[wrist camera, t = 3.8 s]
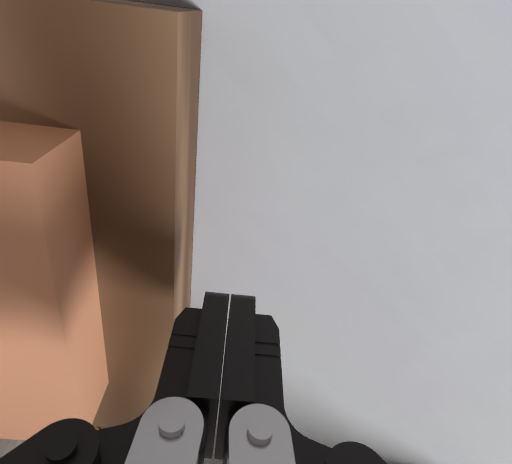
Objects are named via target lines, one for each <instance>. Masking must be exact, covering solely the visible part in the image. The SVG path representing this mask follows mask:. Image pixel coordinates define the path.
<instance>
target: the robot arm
mask: <svg viewBox="0 0 512 464" xmlns="http://www.w3.org/2000/svg"><path fill="white" fill-rule="evenodd" d="M228 303H229V294H224V293H214V292H205V297H204V302H203V307H202V309H198V308H187V307H185V308H184V310H183V311H182V312H181V313H180V314H179V315H178V316H177V318H176V319H175V321H174V325H173V329H172V333H171V337H170V340H169V344H168V349H167V351H166V355H165V359H164V363H163V367H162V370H161V374H160V378H159V382H158V386H157V389H156V393H155V396H154V399H153V401H152V403H151V404H150V406H149V407H148V408H147V410H146V411H145V412H144V413H142V414H141V415H140V416H139V417H137V418H135V419H134V420H132V421H130V422H127V423H125V424H121V425H117V426H113V427H109V428H104V429H100V430H96V429H95V427H94V426H93V425H92V424H91V423H89V422H87V421H86V420H82V419H78V418H68V419H62V420H59V421H56V422H54V423H52V424H50V425H48V426H46V427H45V428H43V429H42V430H40V431H39V432H37V433H36V434H34V435H33V436H32V437H30V438H29V439H27V440H26V441H24V442H23V443H21V444H20V445H19V446H17V447H16V448H14V449H13V450H11V451H10V452H8V453H7V454H5V455H4V456H3V457H1V458H0V464H203V463H204V458H211V459H212V453H213V445H214V436H215V428H216V420H217V412H218V403H219V394H220V384H221V374H222V364H223V354H224V344H225V334H226V324H227V313H228ZM280 357H281V354H280V338H279V328H278V327H277V325H276V323H275V321H274V320H273V318H272V316H270V315H260V314H255V296H245V295H235V294H231V302H230V310H229V319H228V327H227V335H226V345H225V355H224V365H223V375H222V386H221V396H220V407H219V417H218V428H217V438H216V448H215V459H223V463H222V464H387V463H386V462H385V461H384V460H383V459H382V458H381V457H380V456H379V455H378V454H377V453H376V452H375V451H373V450H372V449H370V448H369V447H367V446H365V445H363V444H360V443H357V442H342V443H339V444H337V445H336V446H334V447H333V448H329V447H327V446H325V445H322V444H320V443H318V442H315V441H313V440H311V439H309V438H307V437H305V436H303V435H302V434H300V433H299V432H298V431H297V430H296V429H295V428H294V427H293V426H292V424H291V423H290V421H289V420H288V418H287V416H286V413H285V410H284V400H283V384H282V369H281V359H280Z"/></svg>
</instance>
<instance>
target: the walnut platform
mask: <svg viewBox="0 0 512 464" xmlns="http://www.w3.org/2000/svg"><path fill="white" fill-rule="evenodd" d="M201 30H202V10H196V9H189V8H181V7H174V6H166V5H159V4H152V3H144V2H137V1H129V0H0V121H5V122H14V123H23V124H31V125H40V126H49V127H57V128H66V129H74V130H80V133H81V142H82V151H83V160H84V168H85V177H86V186H87V195H88V204H89V212H90V221H91V230H92V239H93V248H94V257H95V265H96V274H97V283H98V292H99V301H100V309H101V318H102V327H103V336H104V345H105V354H106V362H107V371H108V380H109V383H108V385H107V388H106V390H105V393H104V395H103V398H102V400H101V403H100V405H99V408H98V410H97V413H96V415H95V418H94V420H93V423H92V425H93V426H94V427H108V428H109V427H113V426H117V425H121V424H125V423H127V422H130V421H132V420H134V419H135V418H137V417H139V416H140V415H141V414H142V413H144V412H145V411H146V410H147V408H148V407H149V406H150V404H151V403H152V401H153V399H154V396H155V393H156V389H157V386H158V382H159V378H160V374H161V370H162V367H163V363H164V359H165V355H166V351H167V349H168V344H169V340H170V337H171V333H172V329H173V325H174V321H175V319H176V318H177V316H178V315H179V314H180V313H181V312H182V311H183V310H184V308H185V307H187V308H190V297H191V273H192V249H193V225H194V200H195V176H196V152H197V127H198V103H199V79H200V55H201Z"/></svg>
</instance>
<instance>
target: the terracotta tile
mask: <svg viewBox="0 0 512 464" xmlns="http://www.w3.org/2000/svg"><path fill="white" fill-rule="evenodd" d="M108 383H109V380H108V371H107V362H106V354H105V345H104V336H103V327H102V318H101V309H100V301H99V292H98V283H97V274H96V265H95V257H94V248H93V239H92V230H91V221H90V212H89V204H88V195H87V186H86V177H85V168H84V160H83V151H82V142H81V133H80V130H74V129H66V128H57V127H49V126H40V125H31V124H23V123H14V122H5V121H0V439H13V440H27V439H29V438H30V437H32V436H33V435H34V434H36V433H37V432H39V431H40V430H42V429H43V428H45V427H46V426H48V425H50V424H52V423H54V422H56V421H59V420H62V419H68V418H78V419H82V420H86V421H87V422H89V423H91V424H92V423H93V420H94V418H95V415H96V413H97V410H98V408H99V405H100V403H101V400H102V398H103V395H104V393H105V390H106V388H107V385H108Z"/></svg>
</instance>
